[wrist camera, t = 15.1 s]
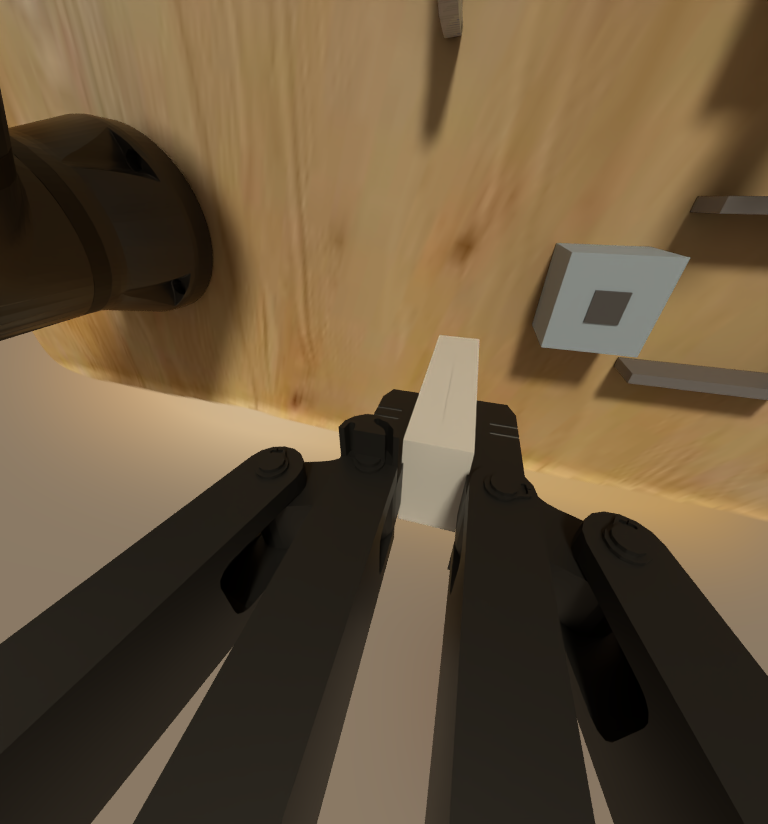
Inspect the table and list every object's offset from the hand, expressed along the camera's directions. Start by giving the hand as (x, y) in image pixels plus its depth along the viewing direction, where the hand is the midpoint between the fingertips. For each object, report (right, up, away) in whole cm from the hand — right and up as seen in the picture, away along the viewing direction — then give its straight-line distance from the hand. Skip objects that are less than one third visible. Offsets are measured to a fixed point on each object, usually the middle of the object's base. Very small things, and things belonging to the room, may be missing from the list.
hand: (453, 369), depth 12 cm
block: (+13, +8, +11) cm, 18 cm away
